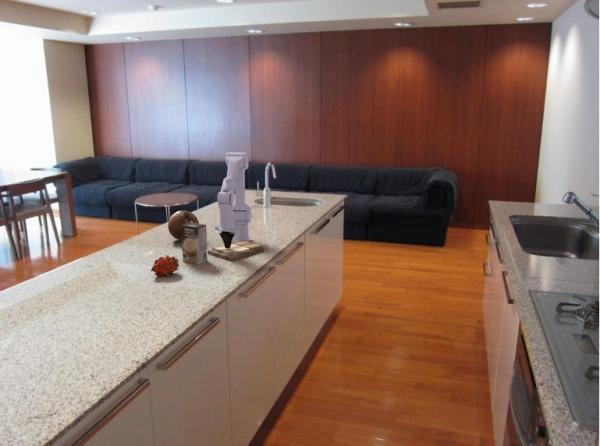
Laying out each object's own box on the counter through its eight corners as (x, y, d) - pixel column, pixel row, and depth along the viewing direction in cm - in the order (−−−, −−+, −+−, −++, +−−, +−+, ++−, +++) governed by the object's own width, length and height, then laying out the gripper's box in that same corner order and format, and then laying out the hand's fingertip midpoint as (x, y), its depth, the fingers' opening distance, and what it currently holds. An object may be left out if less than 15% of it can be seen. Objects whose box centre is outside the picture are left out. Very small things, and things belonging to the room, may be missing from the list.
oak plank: (212, 250, 222) (212, 247, 222) (229, 245, 230) (229, 242, 229) (233, 256, 213) (233, 253, 213) (250, 250, 221) (250, 248, 220)
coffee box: (182, 261, 211) (179, 225, 207) (191, 257, 217) (189, 222, 213) (199, 264, 207) (197, 227, 203) (208, 260, 213) (206, 224, 209)
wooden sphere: (168, 237, 249) (166, 208, 245) (198, 235, 253) (196, 206, 250) (170, 245, 235) (168, 215, 231) (201, 242, 240) (200, 212, 236)
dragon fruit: (182, 275, 198) (155, 286, 191) (172, 260, 202) (144, 270, 195) (185, 263, 192) (156, 274, 185) (174, 247, 196) (146, 257, 189)
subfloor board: (207, 253, 222) (207, 248, 221) (240, 244, 236) (240, 239, 236) (231, 261, 212) (231, 255, 211) (264, 250, 226) (264, 245, 226)
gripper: (208, 217, 218) (210, 246, 221) (230, 222, 209) (231, 252, 212) (221, 214, 223) (222, 243, 227) (242, 219, 214) (243, 249, 217)
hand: (227, 247), depth 220 cm, fingers closed
